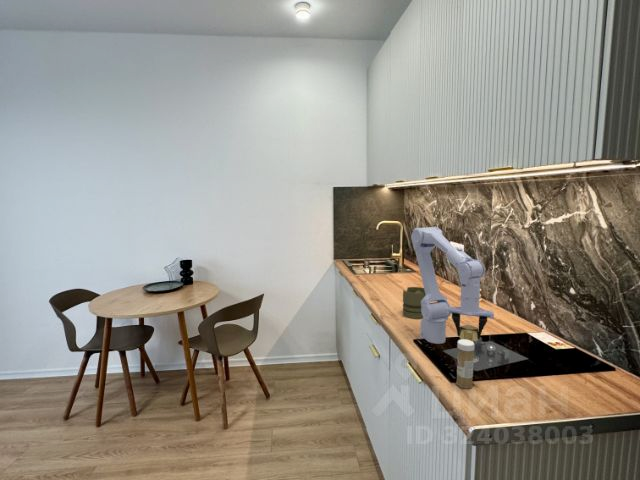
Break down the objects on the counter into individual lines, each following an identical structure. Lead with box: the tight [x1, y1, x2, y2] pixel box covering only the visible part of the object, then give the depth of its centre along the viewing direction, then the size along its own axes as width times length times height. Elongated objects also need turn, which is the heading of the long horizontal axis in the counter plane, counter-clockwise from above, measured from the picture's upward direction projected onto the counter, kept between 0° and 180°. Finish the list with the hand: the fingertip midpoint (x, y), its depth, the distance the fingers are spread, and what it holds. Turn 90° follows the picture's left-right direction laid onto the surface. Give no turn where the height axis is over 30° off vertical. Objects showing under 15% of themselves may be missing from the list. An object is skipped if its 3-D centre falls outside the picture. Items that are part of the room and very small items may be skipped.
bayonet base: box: [442, 336, 529, 372], centre depth 125 cm, size 16×22×4 cm
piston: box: [402, 286, 426, 320], centre depth 169 cm, size 11×12×11 cm
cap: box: [459, 324, 479, 342], centre depth 122 cm, size 9×6×4 cm, turn 154°
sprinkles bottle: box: [456, 339, 475, 389], centre depth 107 cm, size 5×5×14 cm
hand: (468, 336), depth 122 cm, fingers closed on cap, 5 cm apart
